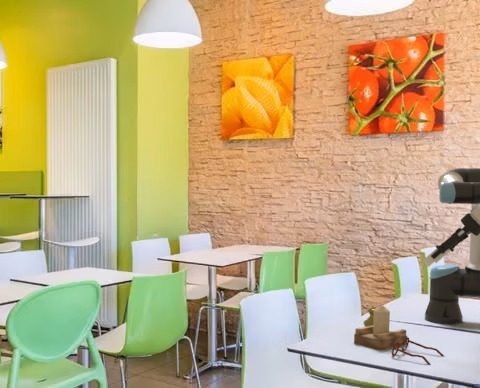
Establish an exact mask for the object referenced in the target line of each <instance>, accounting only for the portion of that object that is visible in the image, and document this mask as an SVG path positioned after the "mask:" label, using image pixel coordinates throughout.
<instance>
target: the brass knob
mask: <svg viewBox="0 0 480 388" xmlns="http://www.w3.org/2000/svg"><path fill="white" fill-rule="evenodd" d="M376 307H377V306H371V307H370V308H369V307H368V309H366V311H367V313H368V314H369V317H368V318H366V319H365V320H363V325H364V327H367V326H373V318H374V309H375V308H376Z"/></svg>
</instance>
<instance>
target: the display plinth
mask: <svg viewBox="0 0 480 388" xmlns="http://www.w3.org/2000/svg"><path fill="white" fill-rule="evenodd" d="M406 337H408V335H407V329H405V328H404V329H397V330H393V331H391V330H389V332H385V333H380V334H377V336H375V335H373V326H367V327H365V326H361V327H357V328H355V333H354V335H353V338H354V339H353V341H354V343H355V344H358V345H362V346H366V347H368V348H372V349H375V350H379V351H383V350H388V349H393V346H394V344H395V343H396V342H399V344H400V343H401V342H403V341H404V340H405V338H406ZM402 345H403V344H402ZM402 345H400V346H399V347H402ZM406 345H407V340H406V341H405V343H404V346H406ZM397 347H398V344H397V345H396V346H395V348H397Z"/></svg>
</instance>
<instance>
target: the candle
mask: <svg viewBox="0 0 480 388" xmlns="http://www.w3.org/2000/svg"><path fill="white" fill-rule="evenodd" d="M375 307H376V308H375V309H374V318H373V335H375V336H377V334H380V333H385V332H389V331H390V321H391V319H390V316H391V314H390V313H391V311H390V310H389V309H388V308H387V307H385V306H384V305H379V306H375Z"/></svg>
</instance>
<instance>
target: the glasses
mask: <svg viewBox="0 0 480 388" xmlns="http://www.w3.org/2000/svg"><path fill="white" fill-rule="evenodd" d="M406 340H407V345H404V343H405V341H406ZM397 344H398V347H395V346H396V345H397ZM402 344H403V345H402ZM409 344H412V345H416V346H417V347H420V348H423V349H426V350H433V351H435V352H437V354H439V355H440V356H441V357H445V355H444V354H443V353H442V352H441V351H440V350H439V349H437V348H435V347H431V346H430V347H429V346H425V345H423V344H421V343H417V342H416V341H412V340H410V337H408V336H407V337H406V338H405V340H404V341H403V342H401V343H400V344H399V342H396V343H395V344H394V346H393V348H391V349H392V350H391V356H392V357H394V356H396V355H397V354H398V352H401V353H402V354H404V355H407V356H410V357H413V358H414V357H416V358H420V359H421V358H422V360H424V362H425V363H426V364H427V365H430V366H431V365H432V364H431V363H430V361H428V359H427V358H426V357H424V356H423V355H421V354H412V353H411V352H408V351H406V350H407V349H408V347H409ZM400 345H402V346H400ZM400 347H401V349H400ZM394 351H395V352H394Z"/></svg>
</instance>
